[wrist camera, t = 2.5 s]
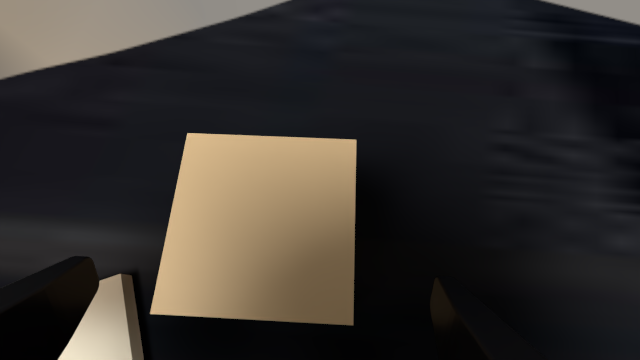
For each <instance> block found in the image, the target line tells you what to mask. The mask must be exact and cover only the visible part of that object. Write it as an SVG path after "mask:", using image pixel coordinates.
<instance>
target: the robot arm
mask: <svg viewBox="0 0 640 360" xmlns="http://www.w3.org/2000/svg"><path fill="white" fill-rule="evenodd" d="M98 288H99V278H98V275H97V272H96V268H95V265H94V262H93V260H92V259H91V258H90V257H84V256H73V257H70V258H68V259H66V260H63V261H61V262H59V263H56V264H54V265H52V266H50V267H47V268H45V269H43V270H41V271H38V272H36V273H34V274H31V275H29V276H27V277H25V278H22V279H20V280H18V281H16V282H13V283H11V284H9V285H6V286H4V287H2V288H0V360H58V359H59V357H60V356H61V354H62V353H63V351H64V350H65V348H66V346H67V345H68V343H69V341H70V340H71V338H72V336H73V335H74V333H75V331H76V329H77V327H78V326H79V324H80V322H81V320H82V318H83V316H84V315H85V313H86V311H87V309H88V307H89V306H90V304H91V302H92V300H93V298H94V297H95V295H96V293H97V291H98ZM430 311H431V317H432V323H433V328H434V334H435V340H436V346H437V351H438V357H439V360H548V359H546V358H545V357H544V356H543V355H542V354H541V353H540V352H538V351H537V350H536V349H535V348H534V347H533V346H532V345H530V344H529V343H528V342H527V341H526V340H525V339H524V338H522V337H521V336H520V335H519V334H518V333H517V332H516V331H514V330H513V329H512V328H511V327H510V326H509V325H508V324H506V323H505V322H504V321H503V320H502V319H501V318H499V317H498V316H497V315H496V314H495V313H494V312H493V311H491V310H490V309H489V308H488V307H487V306H486V305H485V304H483V303H482V302H481V301H480V300H479V299H478V298H477V297H475V296H474V295H473V294H472V293H471V292H470V291H469V290H467V289H466V288H465V287H464V286H463V285H462V284H461V283H459V282H458V281H457V280H456V279H455V278H453V277H448V276H437V277H436V278H435V280H434V285H433V289H432V294H431V299H430Z"/></svg>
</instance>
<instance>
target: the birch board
mask: <svg viewBox="0 0 640 360" xmlns="http://www.w3.org/2000/svg"><path fill="white" fill-rule="evenodd" d="M58 360H144V356H143V350H142V343H141V336H140V329H139V322H138V316H137V309H136V302H135V295H134V288H133V281H132V275H125V274H118V275H115V276H113V277H110V278H107V279H104V280H101V281H99V288H98V291H97V293H96V295H95V297H94V298H93V300H92V302H91V304H90V306H89V307H88V309H87V311H86V313H85V315H84V316H83V318H82V320H81V322H80V324H79V326H78V327H77V329H76V331H75V333H74V335H73V336H72V338H71V340H70V341H69V343H68V345H67V346H66V348H65V350H64V351H63V353H62V354H61V356H60V357H59V359H58Z"/></svg>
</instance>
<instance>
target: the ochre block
mask: <svg viewBox="0 0 640 360" xmlns="http://www.w3.org/2000/svg"><path fill="white" fill-rule="evenodd" d="M355 193H356V140H351V139H325V138H299V137H273V136H247V135H221V134H195V133H187V138H186V143H185V148H184V153H183V157H182V162H181V167H180V172H179V177H178V181H177V186H176V191H175V196H174V201H173V206H172V210H171V215H170V220H169V225H168V230H167V234H166V239H165V244H164V249H163V254H162V259H161V263H160V268H159V273H158V278H157V283H156V288H155V292H154V297H153V302H152V307H151V312H150V314H161V315H178V316H196V317H214V318H231V319H249V320H267V321H285V322H302V323H320V324H338V325H353V315H354V254H355Z"/></svg>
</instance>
